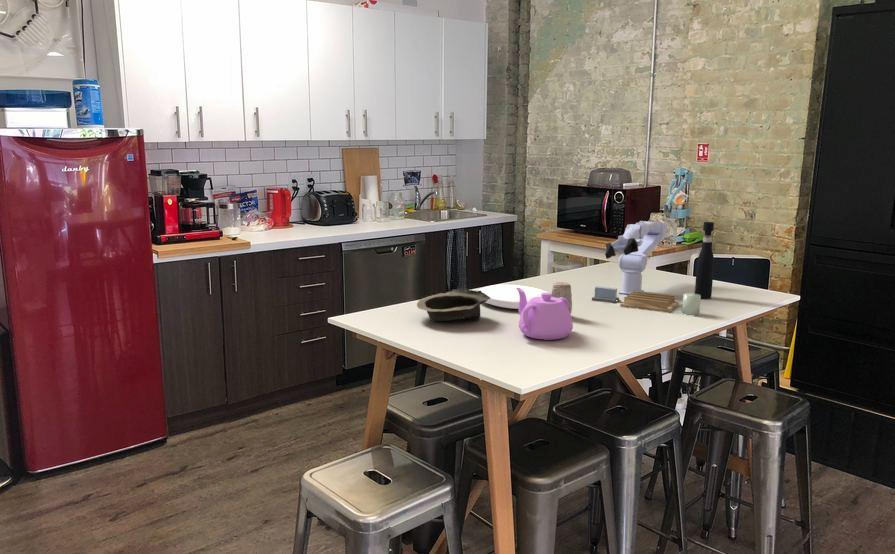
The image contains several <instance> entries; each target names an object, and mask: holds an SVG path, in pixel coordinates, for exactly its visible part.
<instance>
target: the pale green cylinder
mask: <svg viewBox="0 0 895 554" xmlns="http://www.w3.org/2000/svg"><path fill="white" fill-rule="evenodd" d="M701 300H702V299H701V295H699V294H695V292H686V293H683V294H682V304H681V306H682V307H681V314H682V313H683V314H682V315H684V314H686V315H685V316H689V315H698V316H699V315H700V309H701Z"/></svg>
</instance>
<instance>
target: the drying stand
mask: <svg viewBox="0 0 895 554" xmlns="http://www.w3.org/2000/svg"><path fill="white" fill-rule="evenodd" d="M616 300H617V301H616ZM616 300H614V299H606V298H598V297H595V296H593V297H591V301H594V302H595V301H596V302H603V303H612V304H615V303H616V302H618V301H619V300H620V297H619V296H617V299H616Z"/></svg>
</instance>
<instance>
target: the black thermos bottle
mask: <svg viewBox="0 0 895 554" xmlns="http://www.w3.org/2000/svg"><path fill="white" fill-rule="evenodd" d="M702 227H703V228H702V231H703V232H704V234H703V235H704V236H703V240H702V242H701V249H700V252H699V254H698V256H697V257H698V258H697V261H696V272H695V274H696V275H695V283H694V284H695V286H694V293H695V294H699V295H701V299H700V300H710V298H711V299H712V291H713V280H714V268H715V257H714V252H713V249H712V248H713V242H712V241H713V237H712V232H714V229H715V228H714V227H715V222H713V221H703V225H702Z"/></svg>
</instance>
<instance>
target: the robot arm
mask: <svg viewBox="0 0 895 554" xmlns="http://www.w3.org/2000/svg"><path fill="white" fill-rule="evenodd" d="M667 227H668V226H667V224H666V223H665V222H658V221H644V220H640V221H639V222H636V223H635V224H633V223H632V224H631V223H629V224H627V225H626V228H625V230H624V233H622V234H623V235H622V234H621V235H618V236H617V239H616V240H615V241H614V242H612V243H611V242H608V243H606V244H605V247H604V250H605V254H604V255H605V258H606V259H607V260H608V259H610V258H612V257H616V253H621V255H619V258H618V268H620V270H621V271H620V272H622V276H621V277H622V278H621V281H622V282H621V290H620V291H617V294H623V295H630V293H633V291H639V292H645V291H644V289H642V286H643V285H642V284H643V283H642V282H643V274H642V272H644V271H645V269H646V267H647V264H648V256H649V255H650V254H651V253H652V252H653V251H654V250H655V249H656V247H657V246H658V244H660V243H661V242H662V241H663V240H664V239H665V238H666V235H667V229H668V228H667Z"/></svg>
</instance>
